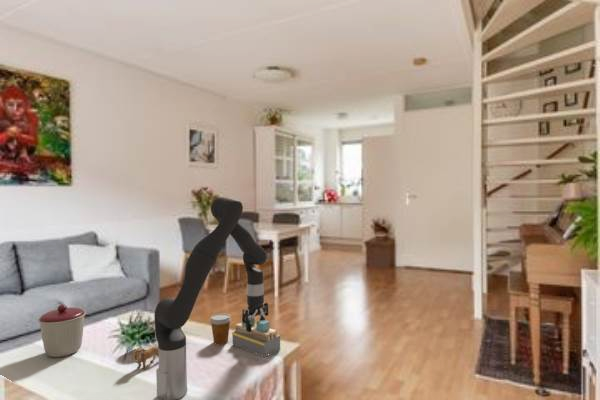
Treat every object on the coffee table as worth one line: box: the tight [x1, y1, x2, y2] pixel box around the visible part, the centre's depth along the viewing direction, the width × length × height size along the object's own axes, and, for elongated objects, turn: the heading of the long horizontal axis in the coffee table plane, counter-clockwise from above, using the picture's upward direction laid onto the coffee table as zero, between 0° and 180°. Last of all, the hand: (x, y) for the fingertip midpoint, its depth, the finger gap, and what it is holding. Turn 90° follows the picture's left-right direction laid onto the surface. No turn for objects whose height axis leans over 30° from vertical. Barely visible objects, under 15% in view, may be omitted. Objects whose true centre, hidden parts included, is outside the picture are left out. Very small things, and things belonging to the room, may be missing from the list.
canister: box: [37, 304, 87, 358], centre depth 168 cm, size 18×18×21 cm
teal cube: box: [256, 319, 271, 332], centre depth 168 cm, size 4×4×4 cm
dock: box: [231, 330, 281, 357], centre depth 172 cm, size 10×20×6 cm, turn 52°
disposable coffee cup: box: [209, 312, 232, 345], centre depth 177 cm, size 10×10×12 cm
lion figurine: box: [131, 345, 159, 371], centre depth 155 cm, size 15×5×9 cm, turn 153°
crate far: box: [241, 318, 256, 326], centre depth 174 cm, size 4×4×4 cm
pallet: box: [235, 321, 278, 342], centre depth 171 cm, size 6×20×3 cm, turn 52°
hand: (255, 328), depth 171 cm, fingers open, 8 cm apart
